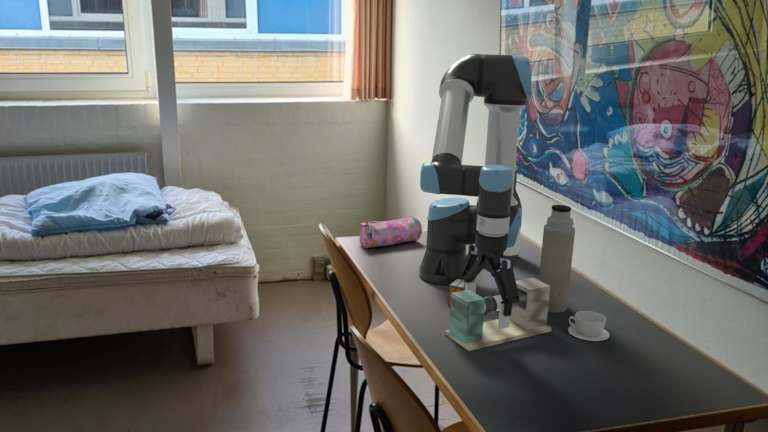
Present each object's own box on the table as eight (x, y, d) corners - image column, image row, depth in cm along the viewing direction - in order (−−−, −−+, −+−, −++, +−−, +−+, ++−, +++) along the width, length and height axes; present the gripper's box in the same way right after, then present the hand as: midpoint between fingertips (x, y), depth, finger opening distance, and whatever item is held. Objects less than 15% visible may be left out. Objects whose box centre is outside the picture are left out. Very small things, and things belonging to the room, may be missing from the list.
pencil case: (367, 252, 235) (368, 225, 232) (355, 244, 243) (355, 218, 240) (423, 244, 245) (424, 218, 243) (409, 237, 253) (410, 212, 250)
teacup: (610, 329, 182) (612, 312, 181) (608, 345, 173) (610, 327, 172) (569, 323, 185) (571, 306, 184) (565, 338, 176) (567, 320, 175)
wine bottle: (489, 256, 234) (496, 165, 226) (500, 250, 241) (507, 162, 233) (512, 262, 230) (520, 169, 222) (523, 256, 236) (531, 165, 228)
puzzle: (455, 298, 199) (456, 278, 197) (475, 302, 196) (477, 282, 195) (447, 306, 193) (448, 284, 192) (468, 310, 191) (469, 289, 189)
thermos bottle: (566, 303, 198) (576, 203, 190) (567, 314, 190) (578, 211, 183) (536, 300, 199) (545, 201, 192) (536, 311, 192) (546, 208, 184)
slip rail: (524, 316, 188) (528, 275, 185) (550, 331, 180) (555, 288, 176) (444, 334, 176) (447, 290, 173) (468, 350, 167) (472, 305, 164)
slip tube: (515, 303, 181) (516, 287, 180) (526, 309, 177) (528, 293, 176) (457, 315, 172) (458, 298, 171) (468, 321, 169) (469, 304, 168)
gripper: (448, 220, 177) (443, 301, 183) (513, 249, 156) (506, 340, 162) (473, 217, 181) (467, 296, 186) (540, 245, 160) (532, 333, 166)
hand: (485, 317), depth 174 cm, fingers open, 13 cm apart
